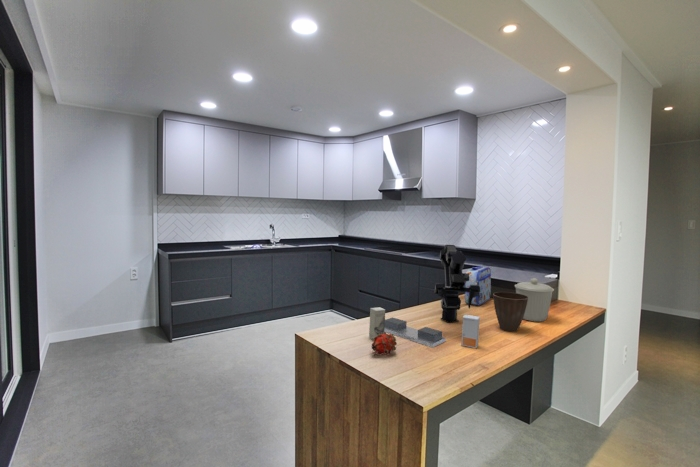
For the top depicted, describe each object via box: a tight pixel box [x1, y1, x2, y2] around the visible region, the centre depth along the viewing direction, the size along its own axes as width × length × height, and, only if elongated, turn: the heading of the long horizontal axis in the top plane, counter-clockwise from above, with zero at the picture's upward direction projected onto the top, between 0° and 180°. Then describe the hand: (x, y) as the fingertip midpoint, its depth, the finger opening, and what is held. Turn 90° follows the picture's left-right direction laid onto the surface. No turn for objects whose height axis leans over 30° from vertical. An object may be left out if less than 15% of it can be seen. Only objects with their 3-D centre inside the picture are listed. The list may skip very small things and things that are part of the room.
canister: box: [514, 277, 555, 322], centre depth 183 cm, size 18×18×21 cm
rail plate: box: [384, 317, 447, 348], centre depth 155 cm, size 10×27×4 cm, turn 45°
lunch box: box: [464, 266, 492, 306], centre depth 215 cm, size 28×10×22 cm, turn 145°
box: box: [368, 307, 386, 341], centre depth 150 cm, size 5×4×13 cm
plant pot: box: [492, 291, 528, 333], centre depth 166 cm, size 15×15×16 cm
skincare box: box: [461, 314, 480, 349], centre depth 145 cm, size 6×4×12 cm
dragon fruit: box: [370, 332, 398, 356], centre depth 135 cm, size 8×8×12 cm
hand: (458, 307), depth 152 cm, fingers open, 9 cm apart
